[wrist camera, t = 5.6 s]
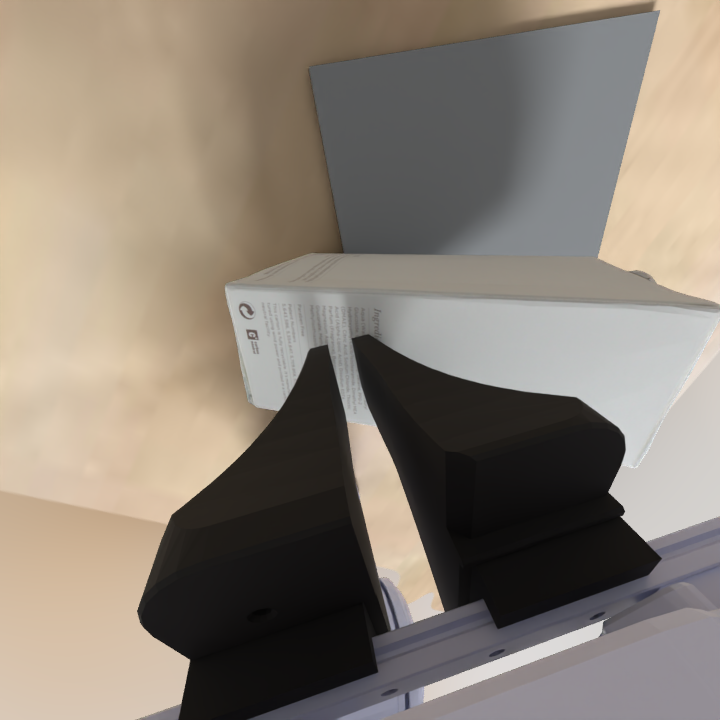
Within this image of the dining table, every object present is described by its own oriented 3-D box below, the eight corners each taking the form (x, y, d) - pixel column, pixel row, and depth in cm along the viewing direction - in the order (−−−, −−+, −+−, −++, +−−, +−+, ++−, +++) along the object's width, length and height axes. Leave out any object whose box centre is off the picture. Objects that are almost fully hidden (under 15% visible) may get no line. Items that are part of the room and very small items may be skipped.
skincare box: (245, 407, 13) (640, 492, 9) (213, 272, 11) (759, 310, 7) (321, 336, 21) (566, 368, 16) (315, 244, 18) (608, 254, 14)
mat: (570, 347, 26) (574, 349, 25) (371, 402, 24) (373, 405, 24) (651, 14, 15) (660, 10, 15) (308, 69, 14) (309, 66, 13)
